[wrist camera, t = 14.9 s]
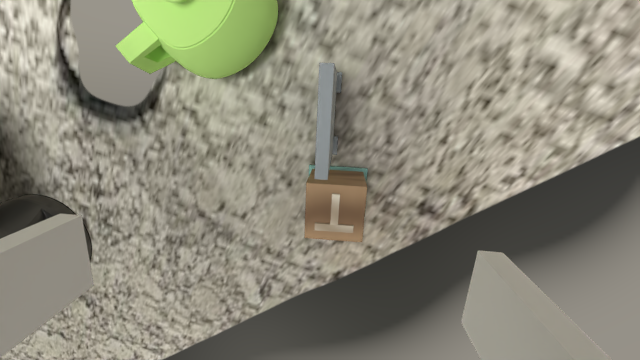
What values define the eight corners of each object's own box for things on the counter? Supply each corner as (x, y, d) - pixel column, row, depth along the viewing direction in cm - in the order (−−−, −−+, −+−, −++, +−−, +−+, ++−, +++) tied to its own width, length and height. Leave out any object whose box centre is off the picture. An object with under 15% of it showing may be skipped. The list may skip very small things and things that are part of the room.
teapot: (249, -96, 34) (196, -202, 22) (323, 6, 36) (313, -38, 24) (136, 29, 38) (42, -1, 26) (209, 112, 41) (152, 120, 28)
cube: (312, 168, 41) (305, 183, 34) (363, 171, 41) (367, 187, 34) (310, 215, 43) (304, 239, 36) (359, 219, 43) (362, 243, 36)
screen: (319, 152, 41) (307, 180, 27) (323, 72, 38) (312, 59, 25) (336, 153, 41) (333, 182, 27) (342, 72, 38) (341, 61, 24)
